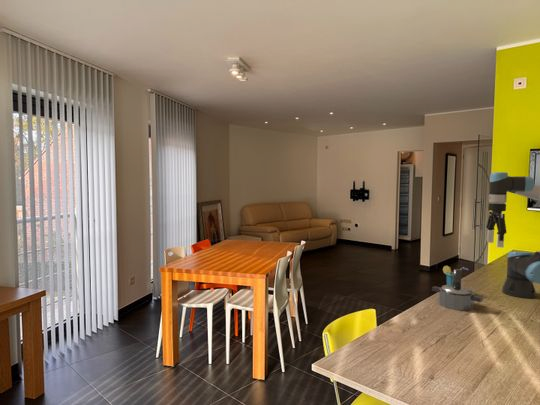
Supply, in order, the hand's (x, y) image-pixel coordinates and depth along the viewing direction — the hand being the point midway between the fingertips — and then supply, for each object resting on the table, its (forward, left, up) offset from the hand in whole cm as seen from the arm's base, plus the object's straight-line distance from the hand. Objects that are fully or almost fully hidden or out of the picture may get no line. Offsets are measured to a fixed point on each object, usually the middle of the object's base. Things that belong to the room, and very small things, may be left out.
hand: (495, 244), depth 186 cm
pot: (+20, +13, -29) cm, 37 cm away
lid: (+20, +13, -22) cm, 32 cm away
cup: (+16, -8, -29) cm, 34 cm away
